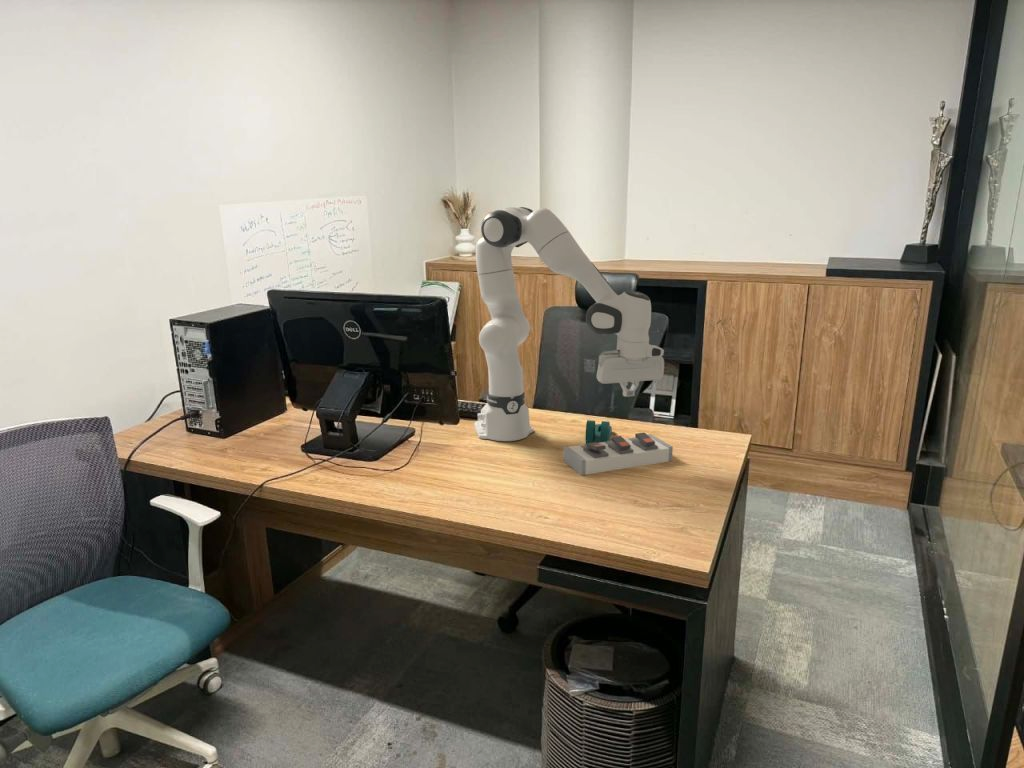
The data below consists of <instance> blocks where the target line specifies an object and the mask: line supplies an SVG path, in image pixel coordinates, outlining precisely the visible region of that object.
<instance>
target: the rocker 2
mask: <svg viewBox="0 0 1024 768" xmlns="http://www.w3.org/2000/svg"><path fill="white" fill-rule="evenodd" d="M625 439H626V438H623V437H622V436H621V435H617V436H616V435H615V436H611V438H610V441H612V442H614V443H615V444H616V445H617V446H618V447H619V448H620V449H621V450H623V449H630V447H631V445H630V444H629V443H628V442H627V441H626V440H625Z"/></svg>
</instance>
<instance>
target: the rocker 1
mask: <svg viewBox="0 0 1024 768" xmlns="http://www.w3.org/2000/svg"><path fill="white" fill-rule="evenodd" d="M586 447H588V448H591V449H593V450H596V451H597V450H603V449H606V446H605V445H602V444H599V443H597V442H593V443H586Z"/></svg>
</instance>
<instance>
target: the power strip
mask: <svg viewBox="0 0 1024 768" xmlns="http://www.w3.org/2000/svg"><path fill="white" fill-rule="evenodd" d="M647 435H648V436H649V437H650V438H651V439H653V440H654V441H655V445H649V446H645V445H644V444H643V443H642V442H640V441H639V440H638V439H637V438H636V437H629V438H624V439H625V440H626V441H627V442H628V443H629V444H630V445H631V447H630V449H623V450H621V449H620V448H619V447H618V446H617V445H616V444H615V443H614V442H612V441H611V440H610V441H608V442H601V443H599V444H602V445H605V446H606V449H603V450H597V451H596V450H593V449H591V448H588V447H586V445H585V444H580V445H574V446H568V445H565V446H563V462H564V463H565V464H567V466H569V467H571V468H572V469H573V470H574V471H576V472H577V473H578V474H579V475H580V476H586V475H592V474H598V473H605V472H606V473H607V472H610V471H618V470H624V469H629V468H637V467H643V466H649V465H655V464H662V463H669V462H673V450H674V447H673V445H671V444H669V443H667V442H665V441H664V440H662V439H661V438H658V437H656V436H655V435H653V434H651V433H648V434H647Z"/></svg>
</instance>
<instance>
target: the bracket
mask: <svg viewBox="0 0 1024 768" xmlns="http://www.w3.org/2000/svg"><path fill="white" fill-rule="evenodd" d="M612 432H613V428H612V426H611V424H610V421H608V420H607V421H605V420H604V421H601V423H597V424H596V421H595V420H588V419H587V420H586V425H585V440H584V441H585V444H584V445H586V443H593V442H597V443H601V442H608V441H611V437H612V434H613V433H612Z"/></svg>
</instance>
